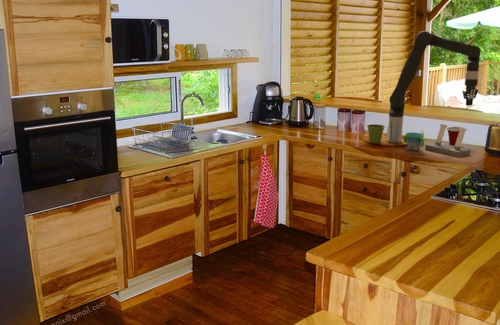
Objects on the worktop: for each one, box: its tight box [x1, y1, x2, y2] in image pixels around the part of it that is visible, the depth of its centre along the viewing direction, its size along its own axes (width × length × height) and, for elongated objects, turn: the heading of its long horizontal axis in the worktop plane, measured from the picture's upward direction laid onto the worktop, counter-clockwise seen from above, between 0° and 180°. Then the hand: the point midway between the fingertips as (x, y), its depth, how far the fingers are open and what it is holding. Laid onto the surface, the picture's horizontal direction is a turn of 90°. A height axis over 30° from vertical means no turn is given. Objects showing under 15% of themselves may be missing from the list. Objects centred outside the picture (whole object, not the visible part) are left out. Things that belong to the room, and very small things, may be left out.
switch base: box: [424, 142, 471, 158], centre depth 344 cm, size 12×24×3 cm, turn 34°
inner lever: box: [434, 123, 448, 145], centre depth 349 cm, size 2×4×13 cm, turn 35°
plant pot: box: [366, 123, 386, 144], centre depth 370 cm, size 12×12×11 cm
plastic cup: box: [446, 126, 464, 146], centre depth 358 cm, size 11×11×12 cm
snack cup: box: [403, 132, 425, 152], centre depth 349 cm, size 16×10×10 cm
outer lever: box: [454, 127, 468, 149], centre depth 338 cm, size 2×4×13 cm, turn 35°
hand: (469, 105), depth 351 cm, fingers closed
